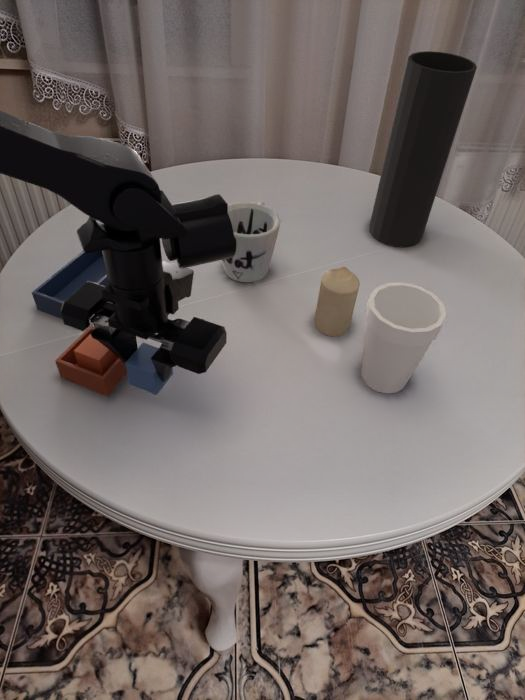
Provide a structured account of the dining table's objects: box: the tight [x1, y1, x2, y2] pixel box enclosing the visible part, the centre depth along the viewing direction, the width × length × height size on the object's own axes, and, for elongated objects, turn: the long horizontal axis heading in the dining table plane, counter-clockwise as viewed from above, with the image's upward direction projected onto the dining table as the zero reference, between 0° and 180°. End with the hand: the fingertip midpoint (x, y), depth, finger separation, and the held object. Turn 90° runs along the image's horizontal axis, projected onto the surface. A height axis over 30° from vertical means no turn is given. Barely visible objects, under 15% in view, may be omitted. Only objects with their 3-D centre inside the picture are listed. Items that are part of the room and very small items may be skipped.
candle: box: [313, 266, 361, 337], centre depth 75 cm, size 6×6×10 cm
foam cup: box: [361, 281, 447, 394], centre depth 67 cm, size 10×9×13 cm
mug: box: [221, 201, 282, 283], centre depth 86 cm, size 10×15×10 cm
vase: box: [368, 50, 478, 248], centre depth 88 cm, size 10×10×30 cm
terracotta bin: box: [54, 325, 128, 398], centre depth 69 cm, size 8×8×3 cm
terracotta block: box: [74, 334, 118, 376], centre depth 68 cm, size 4×4×4 cm
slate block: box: [125, 342, 174, 396], centre depth 63 cm, size 4×4×4 cm
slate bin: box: [31, 250, 108, 320], centre depth 81 cm, size 8×16×3 cm, turn 157°
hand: (150, 373), depth 64 cm, fingers closed on slate block, 4 cm apart
